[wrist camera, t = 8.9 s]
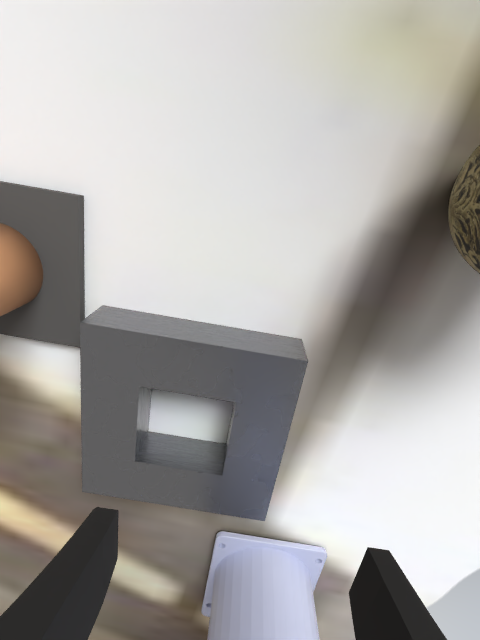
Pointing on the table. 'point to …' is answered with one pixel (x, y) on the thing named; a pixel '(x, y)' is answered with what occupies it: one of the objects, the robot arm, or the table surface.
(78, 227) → the mat
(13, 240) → the tapered peach cylinder
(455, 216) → the cup
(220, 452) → the housing
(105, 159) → the table surface
